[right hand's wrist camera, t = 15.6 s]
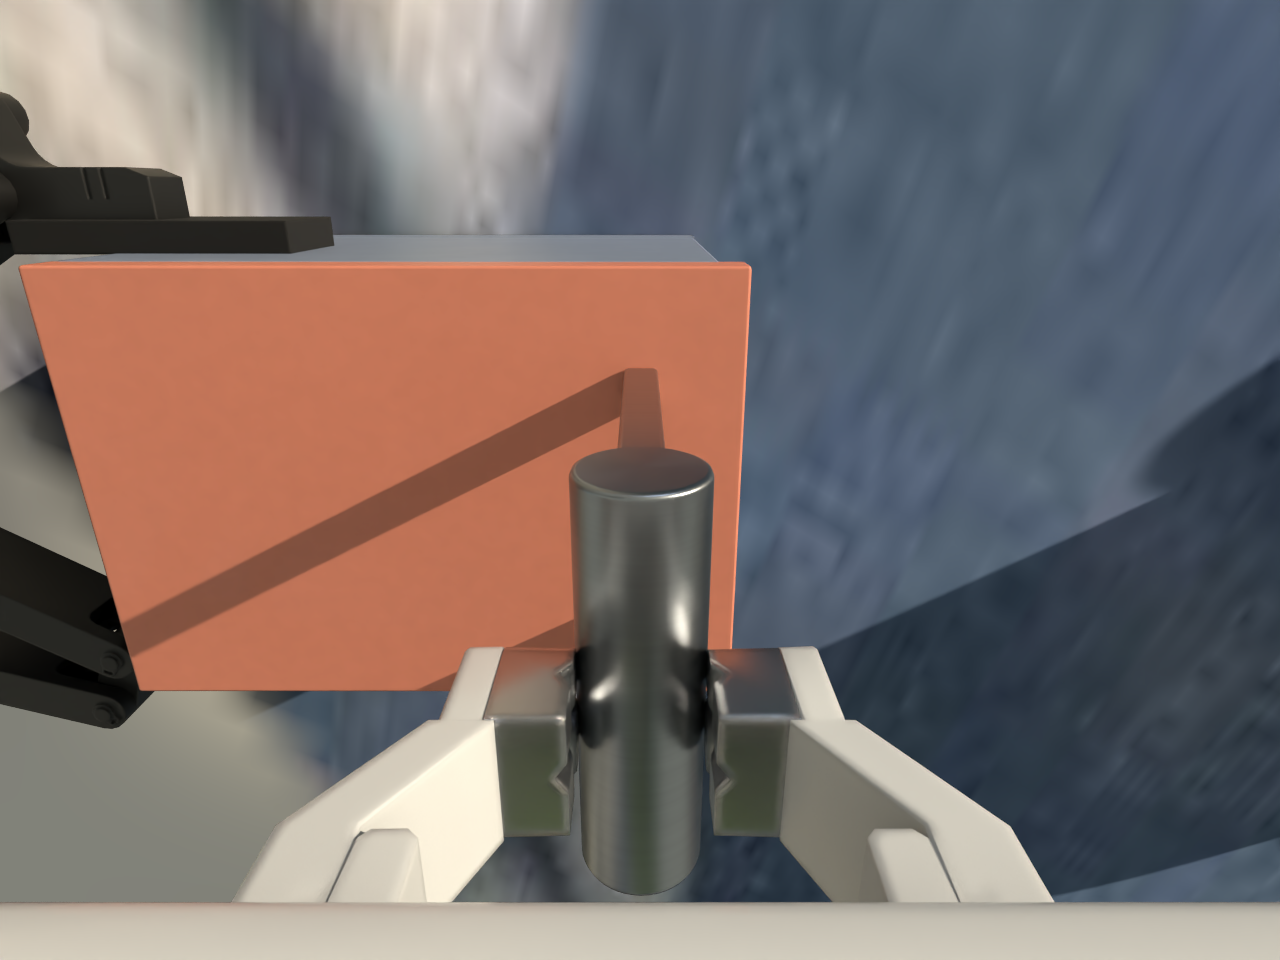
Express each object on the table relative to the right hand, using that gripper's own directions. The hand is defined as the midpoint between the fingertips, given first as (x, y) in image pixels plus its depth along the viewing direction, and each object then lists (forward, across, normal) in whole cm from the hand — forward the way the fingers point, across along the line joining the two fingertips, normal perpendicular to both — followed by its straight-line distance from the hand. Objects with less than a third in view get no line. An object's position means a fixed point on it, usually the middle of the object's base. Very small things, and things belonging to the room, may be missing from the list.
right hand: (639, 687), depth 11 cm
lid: (+8, +5, 0) cm, 9 cm away
